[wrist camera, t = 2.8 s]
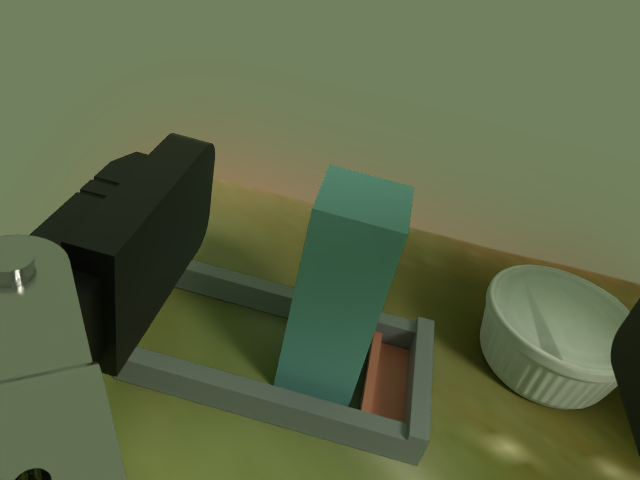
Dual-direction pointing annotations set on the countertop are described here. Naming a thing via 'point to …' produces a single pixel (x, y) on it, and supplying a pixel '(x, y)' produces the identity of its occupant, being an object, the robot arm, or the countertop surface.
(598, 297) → the ramekin
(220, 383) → the grey rectangular frame
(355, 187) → the teal block
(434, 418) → the countertop surface
